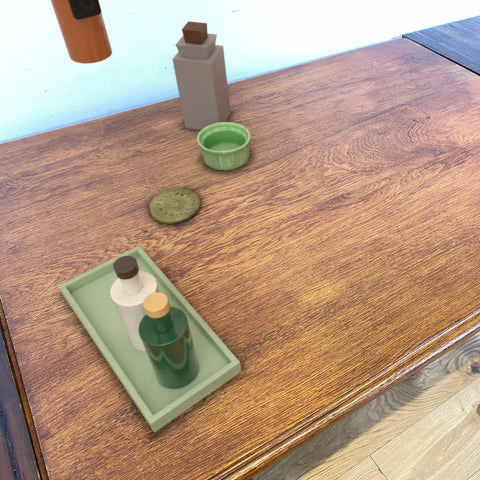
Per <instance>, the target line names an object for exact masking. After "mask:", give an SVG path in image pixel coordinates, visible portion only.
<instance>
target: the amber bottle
mask: <svg viewBox="0 0 480 480" xmlns="http://www.w3.org/2000/svg"><path fill="white" fill-rule="evenodd" d="M50 2H51V6H52V8H53V12H54V15H55V18H56V21H57V24H58V26H59V30H60V32H61V36H62V38H63V39H62V40H63V41H64V44H65V48H66V50H67V55H68V57H69V59H70V60H71V61H73V62H74V63H79V64H87V65H88V64H95V63H100V62H103V61H106V59H109V58H110V57H111V56H112V54H113V49H112V44H111V41H110V37H109V33H108V29H107V26H106V23H105V18H104V15H103V11H102V10H101V14H99V15H96V16H92V17H88V18H84V19H80V20H77V19H75V18H74V17H73V14H72V11H71V8H70V5H69V1H68V0H50Z"/></svg>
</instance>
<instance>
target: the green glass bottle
mask: <svg viewBox="0 0 480 480" xmlns="http://www.w3.org/2000/svg"><path fill="white" fill-rule="evenodd" d="M143 307H144V309H145V312H146V315H145V316H144V317H143V318H142V320H141V322H140V324H139V335H140V338H141V340H142V343H143V345H144V348H145V350H146V353H147V356H148V358H149V361H150V363H151V366H152V368H153V371H154V373H155V376H156V378H157V381H158V382H159V383H160V384H161V385H162V386H163V387H166V388H169V389H179V388H183V387H185V386H187V385H189V384H190V383H191V382H192V381H193V380H194V379H195V378H196V376H197V375H198V372H199V361H198V357H197V354H196V350H195V346H194V342H193V339H192V335H191V331H190V327H189V323H188V320H187V317H186V315H185V313H184V312H183V311H182V310H180V309H178V308H176V307H172V306H170V304H169V301H168V298H167V296H166V295H165V294H163V293H160V292H155V293H152V294H150V295H148V296H147V297H146V298H145V299H144V302H143Z"/></svg>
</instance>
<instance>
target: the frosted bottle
mask: <svg viewBox="0 0 480 480" xmlns="http://www.w3.org/2000/svg"><path fill="white" fill-rule="evenodd" d="M113 268H114V271H115V273H116V276H117V277H118V279H117V280H116V281H115V282H114V283H113V285H112V287H111V290H110V295H111V298H112V301H113V303H114V305H115V308H116V310H117V312H118V315H119V317H120V319H121V322H122V324H123V327H124V329H125V331H126V334H127V336H128V338H129V341H130V343H131V345H132V346H133V347H134V348H136V349H137V350H140V351H146V350H145V348H144V345H143V343H142V340H141V338H140V335H139V324H140V322H141V320H142V318H143V317H144V316H145V315H146V312H145V309H144V307H143V302H144V299H145V298H146V297H147V296H148V295H150V294H152V293H155V292H160V291H159V288H158V285H157V281H156V279H155V278H154V276H153V275H151V274H150V273H147V272H144V271H139V266H138V263H137V261H136V259H135V258H134V257H132V256H122V257H120V258H118V259H117V260H116V261H115V262H114V264H113Z"/></svg>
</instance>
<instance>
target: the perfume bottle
mask: <svg viewBox="0 0 480 480" xmlns="http://www.w3.org/2000/svg"><path fill="white" fill-rule="evenodd" d="M181 32H182V36H181V37H180V39H179V40H178V41H177V42H176V43H175V48H176V49H177V51H178V52H176V54H175V55H174V57H173V58H172V64H173V70H174V75H175V80H176V86H177V90H178V95H179V96H178V97H179V101H180V106H181V107H180V108H181V112H182V117H183V122H184V128H185V129H191V130H199V131H201V130H202V129H203V128H205V127H207V126H209V125H211V124H215V123H220V122H227V121H228V119H229V117H230V115H231V113H232V112H231V104H230V95H229V87H228V77H227V69H226V60H225V59H226V58H225V50H224V45H221V44H217V36H218V35H217V34H218V33H208V23H207V22H199V21H190V20H189V21H187V22H186V24H185V25H184V26H183V27H182V29H181Z"/></svg>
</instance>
